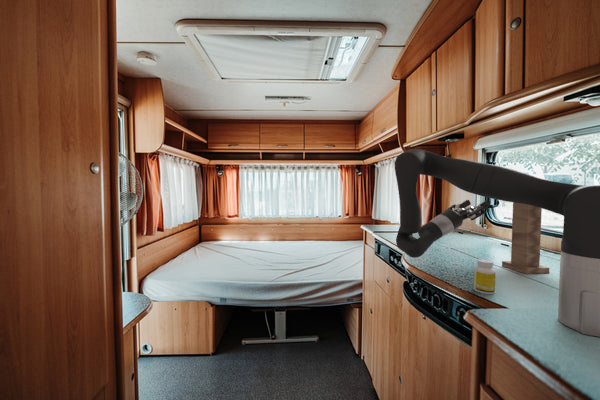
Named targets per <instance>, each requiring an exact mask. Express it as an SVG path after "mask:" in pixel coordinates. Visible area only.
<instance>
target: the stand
mask: <svg viewBox="0 0 600 400" xmlns="http://www.w3.org/2000/svg"><path fill="white" fill-rule="evenodd" d="M542 211H543V209H542V208H539V207H536V206H532V205H528V204H522V203H515V202H512V218H511V219H512V222H511V223H512V225H511V226H512V227H511V250H510V253H511V254H510V260H505V261H504V260H502V261H501V266H502V267H504V268H507V267H508V268H507V269H510V270H512V271H517V272H520V273H523V274H526V275H533V274H534V275H535V274H536V273H538V274H550V267H547V266H544V265H540V257H541V234H542V233H541V232H542Z"/></svg>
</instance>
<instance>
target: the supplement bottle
mask: <svg viewBox="0 0 600 400" xmlns="http://www.w3.org/2000/svg"><path fill="white" fill-rule="evenodd" d="M493 267H494V262H493V261H492V260H489V259H483V258H482V259H479V258H478V259H477V260H476V266H474V268H473V290H474V291H476V292H477V293H480V294H483V295H494V294H495V292H496V291H495V290H496V270H495V269H494V268H493Z"/></svg>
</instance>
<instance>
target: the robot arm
mask: <svg viewBox="0 0 600 400" xmlns="http://www.w3.org/2000/svg"><path fill="white" fill-rule="evenodd" d="M394 172H395V178H396V185H397V190H398V197H399V228H398V231H397V234H396V238H395V244H396V247H397V248H398V249H399V250H400V251H401V252H403V253H404V254H406V255H407V256H408V257H410V258H412V259H414V258H415V259H416V258H420V257H421V256H423V255H424V254H425V253H426V252H427V250H428V249H429V248H430V247H431V246H432V245H433V243H435V242H436V241H439V240H440V239H441V238H442V237H445V236H446V235H449V234H450V233H452V232H454V231H455V230H456V229H458V228H459V227H461V226H462V225H463V223H464V221H465V220H467V219H470V221H474V220H476V219H478V218H480V217H481V216H483V215H485V214H486V210H485V209H486V208H488V207H490V203H489V201H488V200H484V201H483V202H481V203H479V204H478V205H475V206H471V204H472V203H471V201H470V199H466V200H464V201H463V202H461V203H457V204H452V205H451V206H450V207H448V208H446V209H444V210H443V212H441V213H440V214H437V215H436V216H435V217H433V218H432V219H431V220H430V221H428V222H426V223H425V224H423V225H422V209H421V204H420V201H419V198H418V191H417V189H418V181H419V175H422V176H427V177H428V176H429V177H434V178H437V179H441V180H443V181H446V182H448V183H449V184H450V185H453V186H454V187H456V188H458V189H460V190H462V191H464V192H465V193H466V192H467V193H470V194H473V195H477V196H481V197H485V198H488V199H493V200H497V201H503V202H509V203H513V202H515V203H522V204H528V205H532V206H536V207H539V208H542V210H546V211H548V212H552V213H555V214H557V215H561V216H563V226H562V227H563V231H562V238H561V241H560V263H559V284H558V285H559V286H558V310H557V311H558V312H557V319H558V322H560V323H561V324H563V325H565V326H566V327H568V328H571V329H573V330H575V331H577V332H579V333H580V334H583V335H588V336H593V337H599V338H600V185H599V184H598V185H596V184H595V185H583V184H574V183H567V182H560V181H556V180H555V181H553V180H549V179H543V178H540V177H536V176H534V175H531V174H528V173H525V172H521V171H518V170H515V169H512V168H509V167H504V166H501V165H495V164H492V163H490V164H489V163H486V162H479V161H473V160H468V159H462V158H454V157H448V156H444V155H440V154H437V153H434V152H432V151H427V150H425V149H420V148H412V149H409V150H406V151H404V152H402V153H400V154H399V155H397V157H396V159H395V161H394ZM413 234H417V235H418V236H419V237H418V238H417V237H415V236H413Z"/></svg>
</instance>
